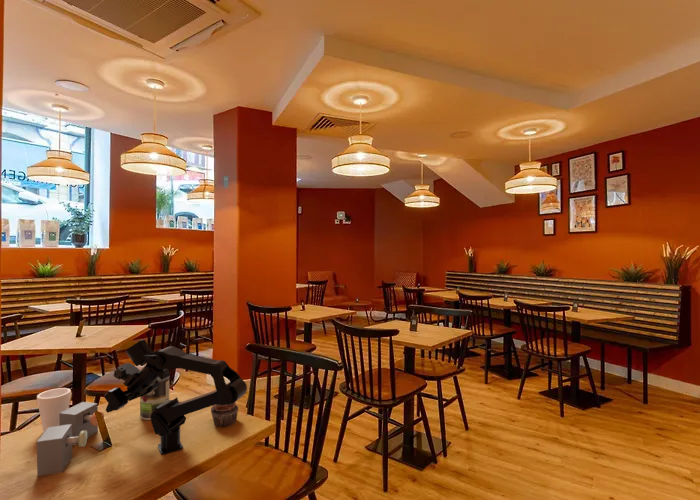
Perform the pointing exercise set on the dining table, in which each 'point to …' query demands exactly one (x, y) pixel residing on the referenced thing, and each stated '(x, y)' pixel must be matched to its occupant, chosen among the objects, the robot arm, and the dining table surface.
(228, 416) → the cupcake
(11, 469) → the dining table surface
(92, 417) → the terracotta button
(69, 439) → the sage button
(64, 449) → the left button box
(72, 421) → the right button box
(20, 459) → the dining table surface
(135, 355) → the robot arm
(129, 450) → the dining table surface
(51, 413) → the foam cup
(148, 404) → the coffee can
